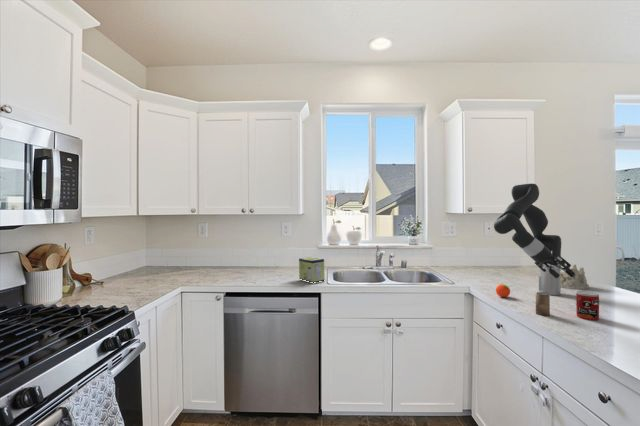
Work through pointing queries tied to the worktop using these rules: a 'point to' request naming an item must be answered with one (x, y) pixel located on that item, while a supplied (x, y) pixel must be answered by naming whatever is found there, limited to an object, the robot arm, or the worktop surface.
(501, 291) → the clementine
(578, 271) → the beige irregular lump
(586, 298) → the canned food
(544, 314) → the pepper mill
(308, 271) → the protein box
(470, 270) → the worktop surface
